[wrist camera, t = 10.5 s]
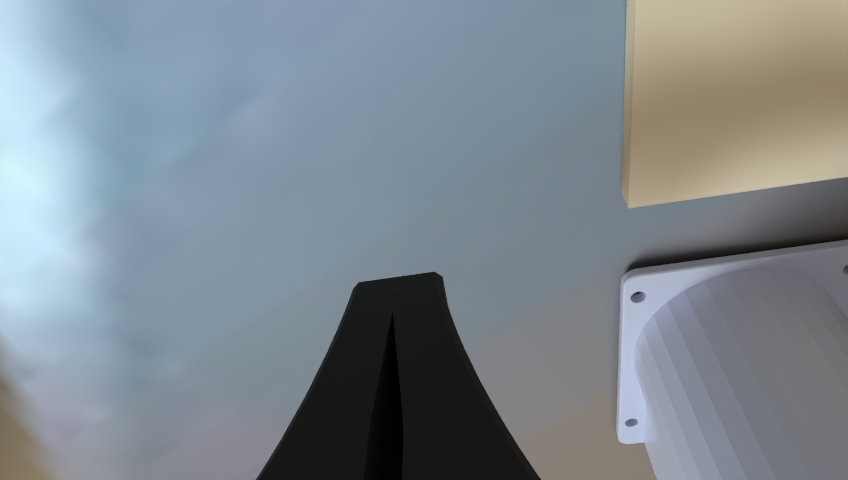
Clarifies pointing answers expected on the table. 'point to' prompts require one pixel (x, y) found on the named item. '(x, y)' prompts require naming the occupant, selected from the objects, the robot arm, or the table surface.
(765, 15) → the board
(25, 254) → the table surface
